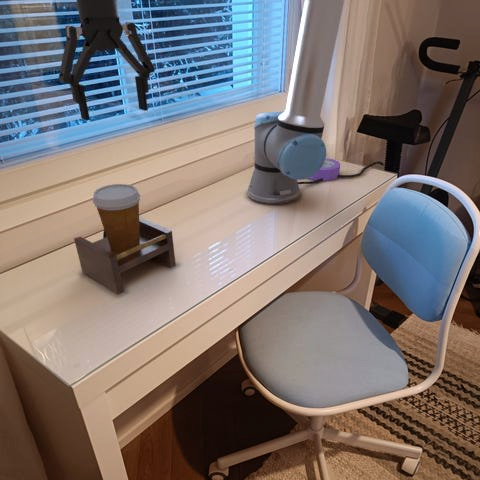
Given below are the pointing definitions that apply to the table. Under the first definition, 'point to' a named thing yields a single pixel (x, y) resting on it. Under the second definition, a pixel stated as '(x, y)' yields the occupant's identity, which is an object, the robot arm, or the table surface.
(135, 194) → the disposable coffee cup
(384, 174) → the table surface
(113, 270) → the rack
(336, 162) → the tape roll
